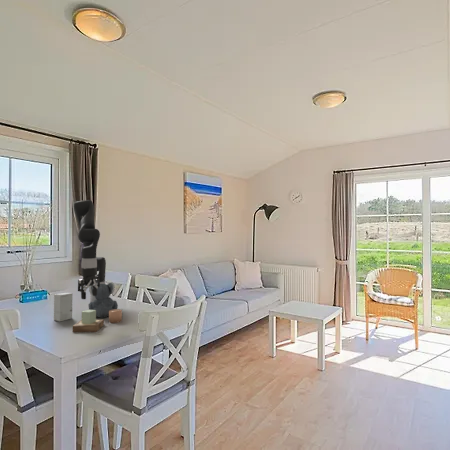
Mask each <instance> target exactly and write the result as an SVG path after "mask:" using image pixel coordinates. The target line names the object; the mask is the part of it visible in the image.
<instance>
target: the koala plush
mask: <svg viewBox="0 0 450 450" xmlns="http://www.w3.org/2000/svg"><path fill="white" fill-rule="evenodd" d="M88 292H89V295H90V294H92V295H93V288H92V286H89V287H88ZM114 292H115V283H114V282H112V281H111V282H108V283H107V284H106V283H105V284H100V287H98V288H97V296H95V298H96V299H97V300H94V301H93V302H90V301H89V303H88V309H89V310H96V318H101V319H102V318H106V317H109V311H110V310H113V309H119V308H118V307H119V305H118V302H117V300H113V298H111V297H110V296H111V295H112V294H113V293H114Z"/></svg>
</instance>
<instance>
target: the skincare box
mask: <svg viewBox="0 0 450 450" xmlns="http://www.w3.org/2000/svg"><path fill="white" fill-rule="evenodd" d="M72 319H73V293H72V292H61V293H56V294H53V320H54V321H56V322H63V321H67V320H72Z"/></svg>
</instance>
